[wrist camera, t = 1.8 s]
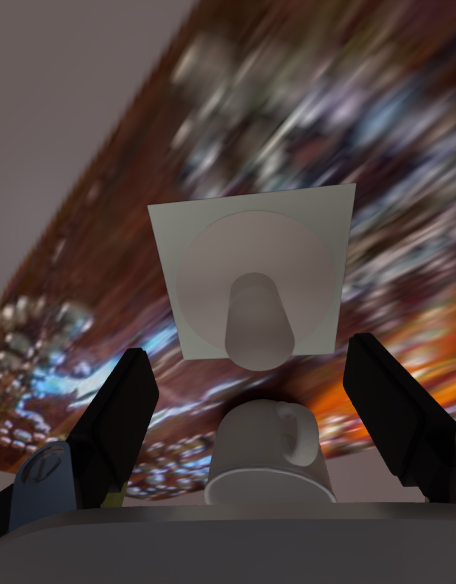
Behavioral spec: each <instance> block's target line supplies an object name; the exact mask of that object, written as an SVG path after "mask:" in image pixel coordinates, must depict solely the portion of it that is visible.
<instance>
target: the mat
mask: <svg viewBox="0 0 456 584" xmlns="http://www.w3.org/2000/svg"><path fill="white" fill-rule="evenodd" d="M355 188H356V183H351V184H342V185H333V186H323V187H314V188H305V189H295V190H286V191H277V192H268V193H258V194H249V195H240V196H230V197H221V198H212V199H202V200H193V201H184V202H174V203H165V204H156V205H148V209H149V214H150V218H151V222H152V226H153V231H154V235H155V239H156V243H157V247H158V252H159V256H160V260H161V264H162V269H163V273H164V277H165V281H166V285H167V290H168V294H169V298H170V302H171V307H172V311H173V315H174V319H175V323H176V328H177V332H178V336H179V340H180V345H181V349H182V353H183V357H184V360H189V359H214V358H230V357H229V356H228V354H227V352H226V351H223V350H221V349H218V348H216V347H214V346H212V345H211V344H209V343H207V342H206V341H205V340H203V339H202V338H201V337H199V336H198V335H197V334H196V333H195V332H194V331H193V329H192V328H191V327H190V326H189V325H188V323H187V321H186V320H185V318H184V317H183V314H182V312H181V310H180V307H179V304H178V301H177V295H176V276H177V271H178V267H179V264H180V261H181V259H182V257H183V254H184V252H185V251H186V249H187V248H188V246H189V245H190V243H191V242H192V241H193V240H194V239H195V238H196V236H197V235H198V234H199V233H200V232H202V231H203V230H204V229H205V228H206V227H207V226H209V225H210V224H212V223H213V222H215V221H217V220H219V219H221V218H223V217H225V216H227V215H231V214H234V213H237V212H243V211H250V210H263V211H271V212H275V213H279V214H283V215H285V216H288V217H290V218H292V219H294V220H296V221H298V222H299V223H301V224H303V225H304V226H306V227H307V228H308V229H309V230H311V231H312V232H313V233H314V234H315V235H316V236H317V237H318V238H319V239H320V240H321V242H322V243H323V245H324V246H325V248H326V249H327V251H328V253H329V256H330V258H331V260H332V264H333V268H334V274H335V290H334V296H333V300H332V303H331V306H330V308H329V310H328V312H327V314H326V316H325V318H324V319H323V321H322V322H321V324H320V325H319V326H318V327H317V328H316V330H315V331H314V332H313V333H311V334H310V335H309V336H308V337H307V338H306V339H304V340H303V341H301V342H300V343H298V344H296V345H295V347H294V350H293V353H292V354H291V355H313V354H334V348H335V340H336V333H337V325H338V317H339V310H340V302H341V295H342V287H343V280H344V272H345V264H346V257H347V249H348V242H349V234H350V226H351V219H352V211H353V204H354V196H355Z"/></svg>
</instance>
